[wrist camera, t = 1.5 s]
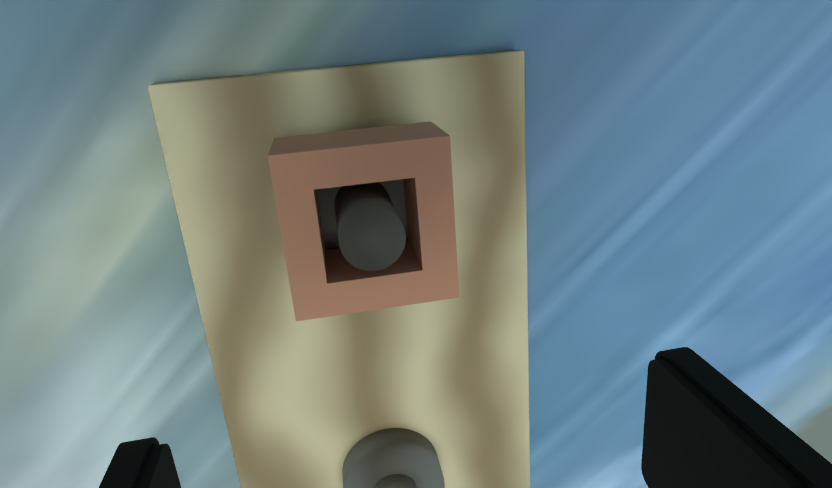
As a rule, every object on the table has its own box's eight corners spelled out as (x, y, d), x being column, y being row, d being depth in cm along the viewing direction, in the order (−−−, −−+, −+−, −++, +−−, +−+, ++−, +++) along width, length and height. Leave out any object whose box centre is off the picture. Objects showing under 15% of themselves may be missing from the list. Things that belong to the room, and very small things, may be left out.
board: (514, 49, 30) (596, 56, 22) (523, 498, 41) (580, 626, 32) (155, 83, 28) (84, 105, 19) (262, 549, 39) (247, 701, 30)
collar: (430, 121, 26) (450, 135, 23) (440, 263, 29) (459, 297, 25) (274, 138, 26) (267, 155, 22) (298, 283, 28) (295, 321, 24)
